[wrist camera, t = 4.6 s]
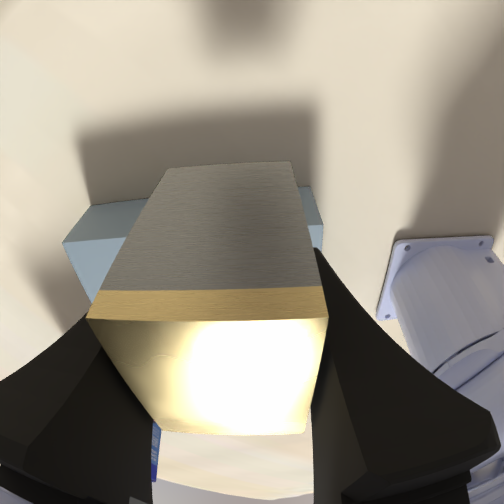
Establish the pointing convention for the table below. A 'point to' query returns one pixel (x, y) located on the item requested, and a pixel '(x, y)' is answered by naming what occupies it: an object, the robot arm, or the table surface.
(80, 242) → the well block
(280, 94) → the table surface
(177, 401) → the two-tone metal cube
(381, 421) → the robot arm
